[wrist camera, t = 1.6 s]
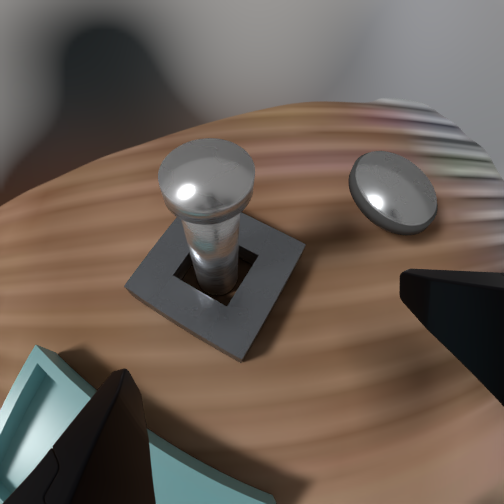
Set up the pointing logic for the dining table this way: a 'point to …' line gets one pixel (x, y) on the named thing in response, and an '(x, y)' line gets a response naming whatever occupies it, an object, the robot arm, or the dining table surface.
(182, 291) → the pin collar
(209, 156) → the pin
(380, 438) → the dining table surface
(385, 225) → the silver round knob
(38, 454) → the tray
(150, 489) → the robot arm
